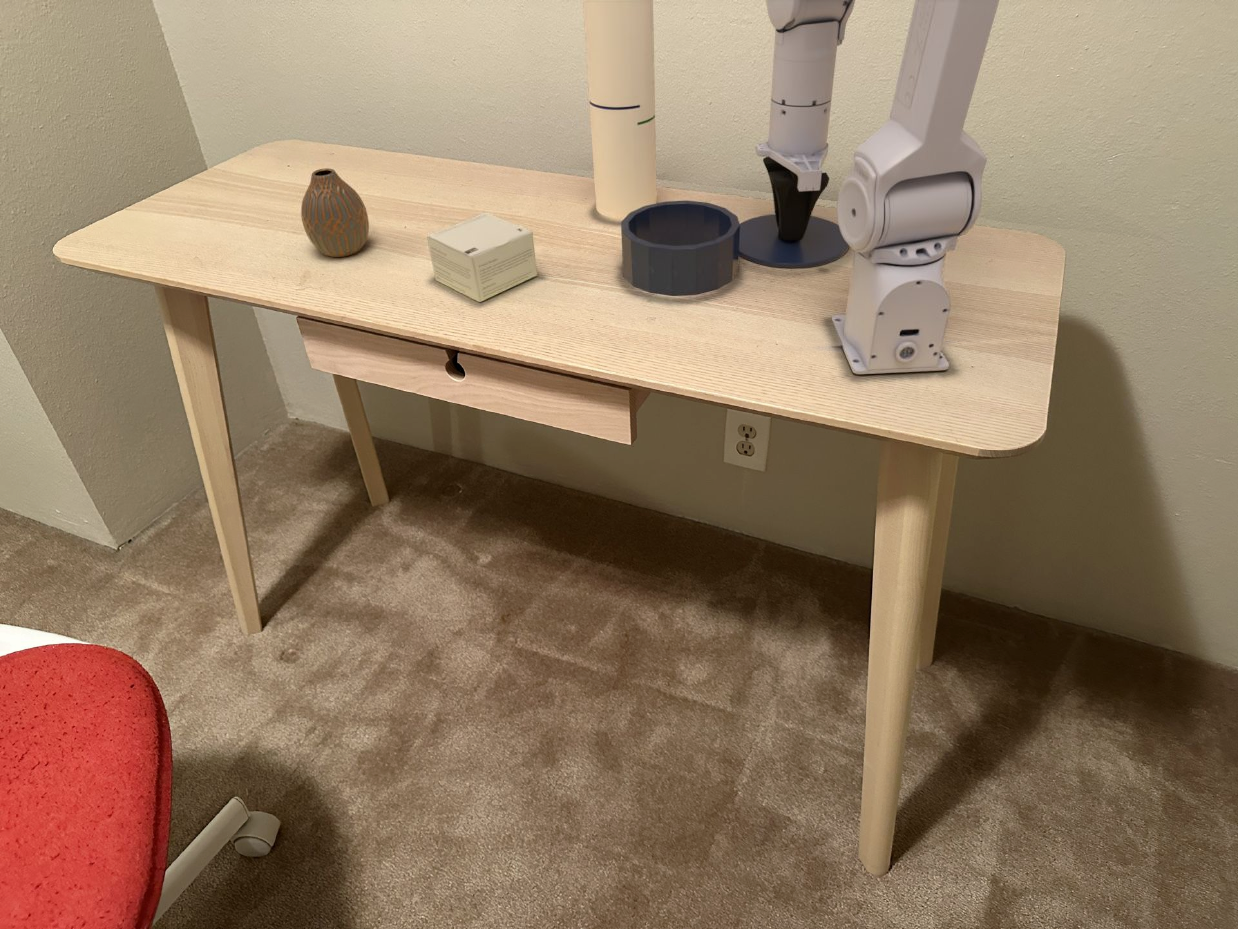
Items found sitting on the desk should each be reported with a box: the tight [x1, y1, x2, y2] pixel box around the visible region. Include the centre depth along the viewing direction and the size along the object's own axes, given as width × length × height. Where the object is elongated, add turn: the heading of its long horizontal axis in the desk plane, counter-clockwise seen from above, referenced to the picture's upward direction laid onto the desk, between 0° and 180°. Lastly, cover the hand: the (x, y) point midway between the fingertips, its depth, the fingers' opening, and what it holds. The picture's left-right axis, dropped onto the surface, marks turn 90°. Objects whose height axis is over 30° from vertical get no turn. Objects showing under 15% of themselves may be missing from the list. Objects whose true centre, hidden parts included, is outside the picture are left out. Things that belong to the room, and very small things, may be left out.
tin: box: [620, 200, 740, 297], centre depth 86 cm, size 12×12×5 cm
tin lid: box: [739, 213, 850, 269], centre depth 90 cm, size 13×13×5 cm
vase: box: [300, 167, 370, 258], centre depth 93 cm, size 7×7×9 cm
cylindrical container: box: [582, 0, 658, 219], centre depth 93 cm, size 7×7×25 cm
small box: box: [426, 211, 538, 303], centre depth 87 cm, size 8×8×5 cm
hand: (789, 232), depth 91 cm, fingers closed on tin lid, 2 cm apart
